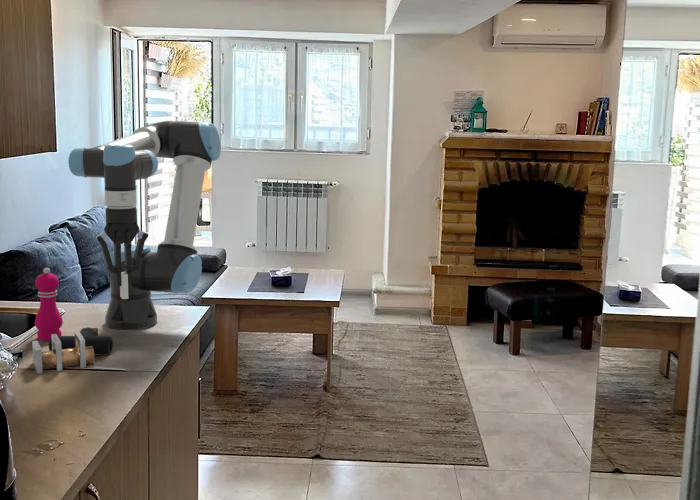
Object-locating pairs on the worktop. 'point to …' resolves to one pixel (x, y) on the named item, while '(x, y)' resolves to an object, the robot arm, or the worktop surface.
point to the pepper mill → (47, 306)
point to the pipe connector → (88, 341)
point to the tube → (67, 357)
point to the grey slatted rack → (58, 352)
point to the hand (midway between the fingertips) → (124, 297)
